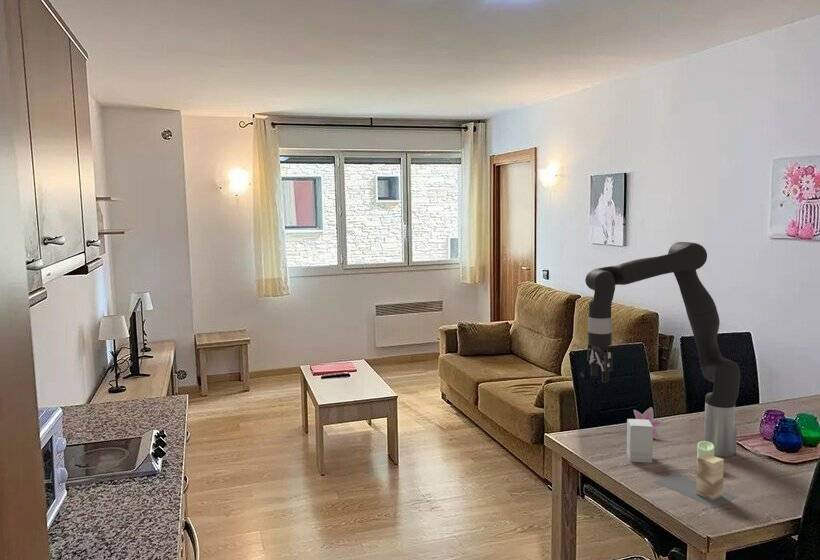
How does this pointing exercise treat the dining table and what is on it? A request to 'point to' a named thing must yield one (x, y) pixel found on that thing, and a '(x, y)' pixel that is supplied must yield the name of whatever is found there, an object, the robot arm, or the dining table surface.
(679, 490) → the mat
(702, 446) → the candle
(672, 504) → the dining table surface
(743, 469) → the dining table surface
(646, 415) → the lily
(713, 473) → the block
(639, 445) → the supplement box
